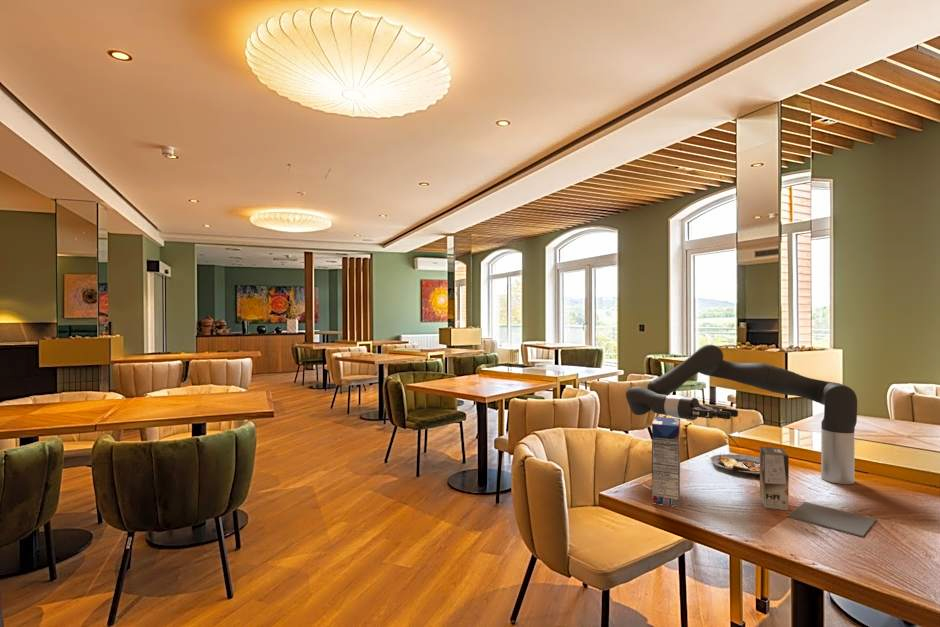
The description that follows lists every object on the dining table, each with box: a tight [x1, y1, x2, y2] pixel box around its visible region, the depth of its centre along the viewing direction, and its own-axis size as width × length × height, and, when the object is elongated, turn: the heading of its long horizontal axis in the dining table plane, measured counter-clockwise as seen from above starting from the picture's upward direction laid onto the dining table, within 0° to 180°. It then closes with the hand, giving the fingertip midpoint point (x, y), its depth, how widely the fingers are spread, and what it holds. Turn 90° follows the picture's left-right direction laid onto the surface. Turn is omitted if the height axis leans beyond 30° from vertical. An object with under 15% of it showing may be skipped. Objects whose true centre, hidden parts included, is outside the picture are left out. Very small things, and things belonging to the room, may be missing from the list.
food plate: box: [709, 453, 760, 476], centre depth 186 cm, size 25×23×4 cm
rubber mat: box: [786, 501, 877, 538], centre depth 140 cm, size 16×17×1 cm
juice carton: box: [651, 416, 681, 508], centre depth 154 cm, size 12×8×24 cm, turn 156°
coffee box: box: [759, 446, 790, 511], centre depth 151 cm, size 9×6×16 cm
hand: (733, 414), depth 160 cm, fingers open, 5 cm apart
